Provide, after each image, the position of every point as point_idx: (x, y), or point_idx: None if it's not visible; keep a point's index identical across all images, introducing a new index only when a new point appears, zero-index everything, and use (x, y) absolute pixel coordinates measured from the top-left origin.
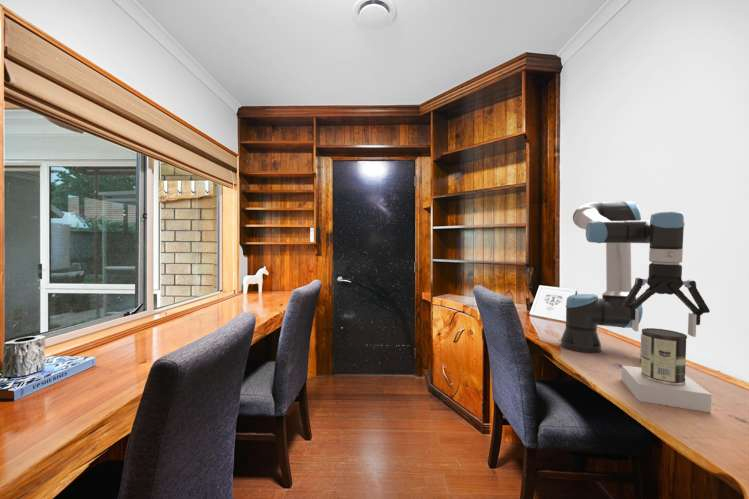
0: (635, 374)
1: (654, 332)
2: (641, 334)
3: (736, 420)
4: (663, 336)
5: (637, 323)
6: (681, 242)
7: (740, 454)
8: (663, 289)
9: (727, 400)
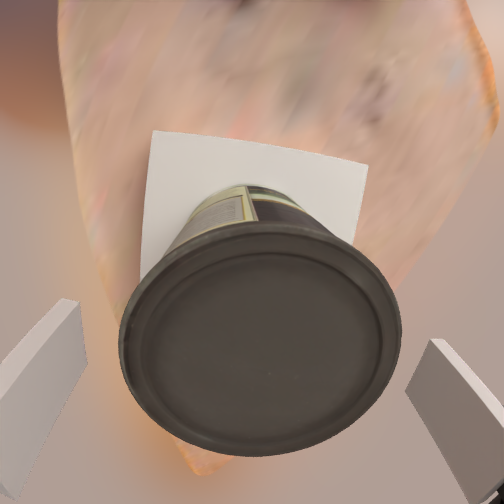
0: (161, 237)
1: (195, 374)
2: None
3: None
4: (206, 448)
5: (56, 406)
6: None
7: None
8: None
9: (413, 226)
